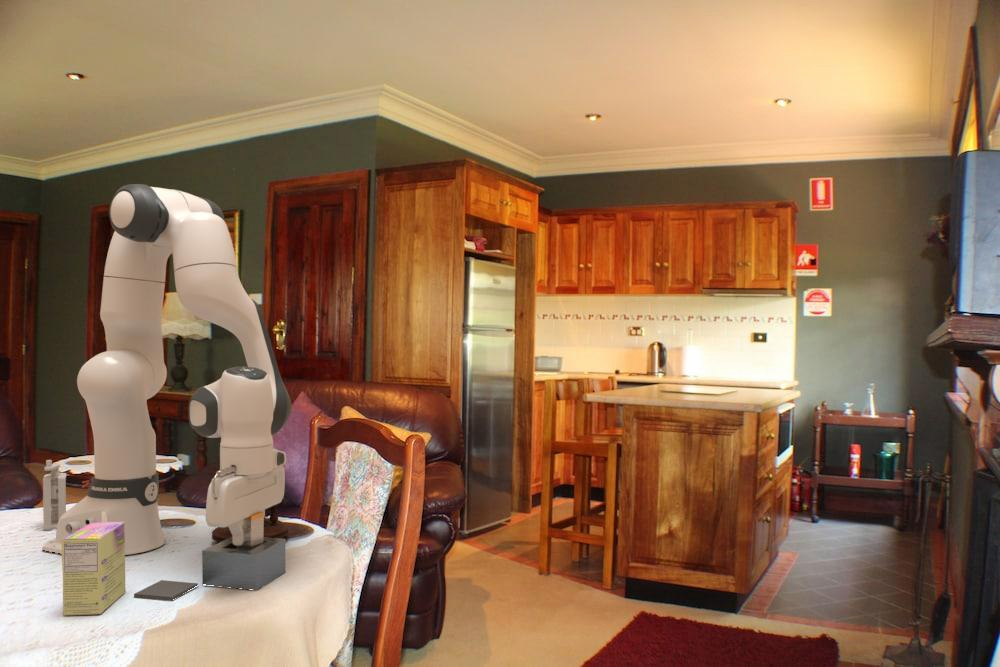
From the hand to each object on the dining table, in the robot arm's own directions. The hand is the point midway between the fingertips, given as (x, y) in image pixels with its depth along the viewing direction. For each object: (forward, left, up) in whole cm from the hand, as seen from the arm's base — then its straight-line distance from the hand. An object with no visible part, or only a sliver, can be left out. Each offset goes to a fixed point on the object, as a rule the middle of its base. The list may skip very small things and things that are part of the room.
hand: (247, 540), depth 140 cm
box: (-17, -17, -7) cm, 25 cm away
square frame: (0, -1, -7) cm, 7 cm away
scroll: (-12, +21, -7) cm, 25 cm away
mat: (-9, -10, -7) cm, 15 cm away
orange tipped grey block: (+1, 0, -5) cm, 5 cm away
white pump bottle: (-59, +22, -7) cm, 64 cm away
